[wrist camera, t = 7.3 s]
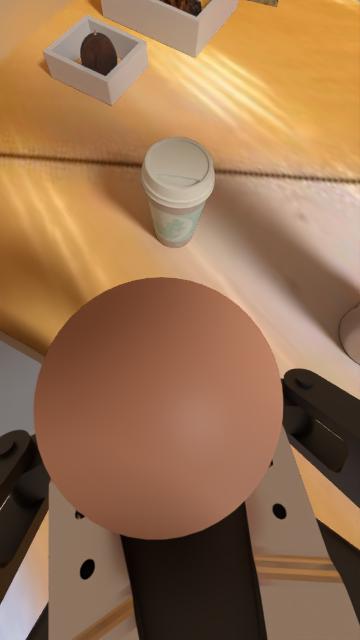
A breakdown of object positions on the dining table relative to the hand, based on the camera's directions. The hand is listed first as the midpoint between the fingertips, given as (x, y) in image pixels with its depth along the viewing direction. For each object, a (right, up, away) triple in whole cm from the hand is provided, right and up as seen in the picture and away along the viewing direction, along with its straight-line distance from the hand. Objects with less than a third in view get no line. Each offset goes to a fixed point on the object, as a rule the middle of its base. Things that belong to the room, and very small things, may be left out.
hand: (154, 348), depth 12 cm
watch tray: (-14, +49, +33) cm, 61 cm away
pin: (0, -3, +5) cm, 6 cm away
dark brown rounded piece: (-15, +48, +33) cm, 60 cm away
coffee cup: (0, +15, +25) cm, 29 cm away
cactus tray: (0, +69, +40) cm, 80 cm away
